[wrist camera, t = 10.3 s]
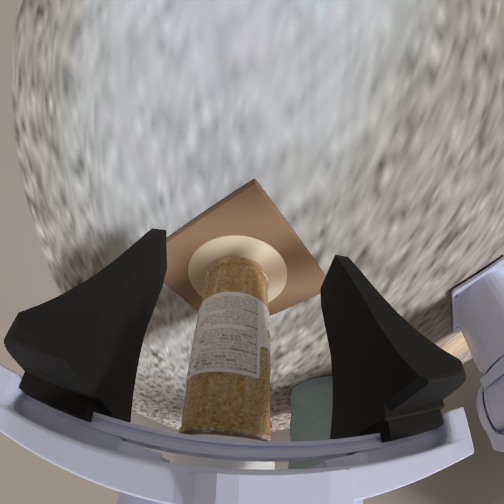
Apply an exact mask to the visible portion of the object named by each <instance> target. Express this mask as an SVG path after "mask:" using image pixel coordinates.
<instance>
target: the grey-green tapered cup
mask: <svg viewBox="0 0 504 504" xmlns="http://www.w3.org/2000/svg"><path fill="white" fill-rule="evenodd" d="M332 405H333V378H332V376H324V377H318V378H313V379H309V380H306V381H304V382H301V383H299V384H298V385H296V386H295V387H294V388H293V389H292V391H291V394H290V406H291V421H290V436H291V442H296V441H317V440H330V433H331V422H332ZM337 458H339V457H337ZM329 459H335V458H329ZM329 459H318V460H306V461H289V467H288V469H306V468H308V467H312V466H315V465H318V464H321V463H323V462H324V461H325V460H329Z"/></svg>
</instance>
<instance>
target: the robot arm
mask: <svg viewBox="0 0 504 504" xmlns="http://www.w3.org/2000/svg"><path fill="white" fill-rule="evenodd" d="M166 271H167V249H166V230H159V229H151V230H150V231H149V232H147V233H146V234H145V235H144V236H143V237H142V238H140V239H139V240H138V241H137V242H136V243H135V244H133V245H132V246H131V247H130V248H129V249H128V250H126V251H125V252H124V253H123V254H122V255H121V256H119V257H118V258H117V259H116V260H114V261H113V262H112V263H110V264H109V265H108V266H107V267H105V268H104V269H103V270H101V271H100V272H98V273H97V274H95V275H94V276H92V277H91V278H89V279H88V280H86V281H85V282H83V283H81V284H80V285H78V286H76V287H74V288H73V289H71V290H69V291H67V292H66V293H64V294H62V295H60V296H58V297H56V298H54V299H52V300H50V301H47V302H45V303H43V304H40V305H38V306H36V307H33V308H30V309H27V310H25V311H22V312H19V313H18V315H17V316H16V318H15V320H14V322H13V324H12V326H11V327H10V329H9V331H8V333H7V335H6V337H5V339H4V344H5V347H6V349H7V351H8V352H9V353H10V355H11V356H12V357H13V358H14V359H15V360H16V362H17V363H18V364H19V365H20V366H21V367H22V368H23V369H24V371H25V373H24V375H23V377H21V376H20V375H19V374H17V373H15V372H14V371H12V370H10V369H9V368H6V367H5V366H3V365H1V364H0V432H2V433H3V434H5V435H6V436H8V437H9V438H11V439H12V440H14V441H15V442H17V443H18V444H20V445H21V446H23V447H25V448H26V449H28V450H29V451H31V452H33V453H35V454H36V455H38V456H40V457H41V458H44V459H45V460H47V461H49V462H51V463H53V464H55V465H56V466H58V467H60V468H62V469H65V470H67V471H69V472H71V473H73V474H75V475H77V476H80V477H82V478H84V479H87V480H89V481H92V482H94V483H97V484H99V485H102V486H105V487H107V488H111V489H113V490H116V491H119V493H118V502H117V504H363V499H365V498H369V497H372V496H376V495H379V494H382V493H385V492H388V491H391V490H394V489H397V488H400V487H402V486H405V485H408V484H410V483H413V482H415V481H418V480H420V479H422V478H425V477H427V476H429V475H431V474H434V473H436V472H438V471H440V470H442V469H444V468H446V467H448V466H450V465H452V464H454V463H456V462H458V461H460V460H462V459H464V458H466V457H467V456H469V455H471V454H473V453H474V449H473V444H472V439H471V435H470V431H469V427H468V423H467V419H466V415H465V412H464V409H463V407H461V408H457V409H454V410H451V411H448V412H446V413H444V414H441V410H440V409H442V408H443V407H444V403H443V399H444V398H446V397H447V396H448V395H450V394H451V393H452V392H454V391H455V390H456V389H458V388H459V387H460V386H461V385H462V384H463V383H464V381H465V379H466V374H465V371H464V368H463V365H462V363H461V361H460V360H459V359H458V358H456V357H454V356H453V355H451V354H449V353H447V352H446V351H444V350H443V349H441V348H440V347H438V346H437V345H435V344H434V343H432V342H431V341H430V340H428V339H427V338H426V337H424V336H423V335H422V334H421V333H420V332H418V331H417V330H416V329H415V328H413V327H412V326H411V325H410V324H409V323H408V322H407V321H406V320H405V319H404V318H402V317H401V316H400V315H399V314H398V313H397V312H396V311H395V310H394V309H393V308H392V307H391V306H390V304H389V303H388V302H387V301H386V300H385V299H384V298H383V297H382V296H381V295H380V293H379V292H378V291H377V290H376V289H375V288H374V287H373V285H372V284H371V283H370V282H369V281H368V279H367V278H366V277H365V276H364V275H363V273H362V272H361V271H360V270H359V269H358V268H357V266H356V265H355V264H354V263H353V262H352V261H351V260H350V259H349V258H348V257H344V256H338V255H335V257H334V259H333V261H332V264H331V266H330V268H329V270H328V273H327V275H326V277H325V279H324V281H323V284H322V286H321V288H320V292H321V306H322V312H323V317H324V322H325V327H326V332H327V337H328V342H329V347H330V353H331V361H332V378H333V405H332V422H331V433H330V440H317V441H296V442H262V441H241V440H228V439H217V438H208V437H201V436H193V435H187V434H181V433H175V432H169V431H164V430H159V429H154V428H150V427H146V426H142V425H137V424H133V423H130V421H131V409H132V399H133V391H134V384H135V378H136V372H137V367H138V361H139V356H140V352H141V347H142V343H143V339H144V335H145V332H146V329H147V326H148V323H149V321H150V318H151V315H152V313H153V310H154V308H155V305H156V302H157V300H158V297H159V294H160V292H161V289H162V286H163V282H164V278H165V274H166ZM451 298H452V315H453V332H454V333H457V332H459V331H461V332H462V334H463V336H464V338H465V340H466V343H467V345H468V347H469V349H470V352H471V354H472V356H473V359H474V361H475V364H476V366H477V368H478V369H479V370H480V371H481V372H482V373H484V377H482V378H481V379H480V381H481V384H482V386H481V387H480V389H479V392H478V397H477V411H478V415H479V419H480V421H481V424H482V426H483V427H484V429H485V430H486V431H487V433H488V436H489V438H490V441H491V445H492V446H493V449H494V450H496V451H501V452H504V256H503V257H502V258H500V259H499V260H497V261H496V262H494V263H493V264H492V265H490V266H489V267H487V268H486V269H484V270H483V271H481V272H480V273H478V274H477V275H475V276H474V277H472V278H470V279H469V280H467V281H466V282H464V283H462V284H461V285H459V286H457V287H456V288H454V289H453V290H452V292H451ZM138 445H139V446H138ZM141 446H143V447H141ZM144 447H147V448H151V449H157V450H161V451H166V452H171V453H176V454H182V455H189V456H196V457H203V458H212V459H222V460H235V461H258V462H280V461H281V462H283V461H306V460H318V459H329V458H335V459H329V460H325V461H324V462H323V463H321V464H318V465H315V466H312V467H308V468H306V469H280V470H257V469H228V468H213V467H202V466H192V465H183V464H176V463H170V461H169V460H167V459H165V458H162V454H161V453H160V452H157V451H153V450H150V449H146V448H144ZM337 457H339V458H337Z"/></svg>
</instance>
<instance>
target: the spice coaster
mask: <svg viewBox="0 0 504 504" xmlns="http://www.w3.org/2000/svg"><path fill="white" fill-rule="evenodd" d="M166 249H167V271H166V274H165V278H164V283H166V284H167V285H168V286H169V287H170V288H171V289H173V290H174V291H175V292H176V293H177V294H178V295H180V296H181V297H182V298H183V299H184V300H186V301H187V302H188V303H189V304H190V305H192V306H193V307H194V308H195V309H197V310H198V311H199V309H200V306H201V304H202V301H203V296H204V289H205V275H206V272H207V270H208V268H209V267H210V266H211V265H212V264H213V263H214V262H216V261H217V260H219V259H221V258H225V257H230V256H237V257H245V258H249V259H251V260H253V261H255V262H257V263H258V264H260V265H261V266H262V267H263V268H264V269H265V271H266V273H267V274H268V278H269V288H268V311H269V315H273V314H275V313H277V312H280V311H282V310H284V309H287V308H289V307H291V306H293V305H296V304H298V303H300V302H302V301H305V300H307V299H309V298H311V297H313V296H316V295H318V294H320V293H321V292H320V288H321V286H322V284H323V281H324V279H325V277H326V275H325V274H324V273H323V271H322V270H321V268H320V267H319V265H318V264H317V262H316V261H315V260H314V258H313V257H312V255H311V254H310V253H309V251H308V250H307V248H306V247H305V245H304V244H303V243H302V241H301V240H300V239H299V237H298V236H297V234H296V233H295V232H294V230H293V229H292V227H291V226H290V225H289V223H288V222H287V221H286V219H285V218H284V217H283V215H282V214H281V212H280V211H279V210H278V208H277V207H276V206H275V204H274V203H273V202H272V200H271V199H270V198H269V196H268V195H267V194H266V192H265V191H264V190H263V189H262V187H261V186H260V185H259V183H258V182H257V181H256V179H254V180H252V181H250V182H249V183H247V184H246V185H244V186H243V187H241V188H239V189H238V190H236V191H235V192H233V193H232V194H230V195H229V196H227V197H226V198H224V199H223V200H221V201H220V202H218V203H217V204H215V205H214V206H212V207H211V208H209V209H208V210H206V211H205V212H203V213H202V214H200V215H199V216H197V217H196V218H195V219H193V220H192V221H190V222H189V223H187V224H186V225H184V226H183V227H182V228H180V229H179V230H177V231H176V232H175V233H173V234H172V235H170V236H169V237H168V238H166Z"/></svg>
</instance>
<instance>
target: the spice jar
mask: <svg viewBox="0 0 504 504" xmlns="http://www.w3.org/2000/svg"><path fill="white" fill-rule="evenodd" d="M268 288H269V278H268V274H267V273H266V271H265V269H264V268H263V267H262V266H261V265H260V264H258V263H257V262H255V261H253V260H251V259H249V258H245V257H237V256H230V257H225V258H221V259H219V260H217V261H216V262H214V263H213V264H212V265H211V266H210V267H209V268H208V270H207V272H206V275H205V289H204V296H203V301H202V304H201V306H200V309H199V314H198V319H197V324H196V330H195V335H194V340H193V346H192V351H191V357H190V363H189V369H188V375H187V382H186V383H187V389H186V397H185V404H184V411H183V417H182V426H181V428H180V430H179V433H181V434H187V435H193V436H201V437H208V438H217V439H228V440H241V441H262V442H271V441H272V438H271V436H270V431H271V428H270V370H271V367H270V352H271V350H270V315H269V311H268ZM173 463H176V464H183V465H192V466H202V467H213V468H228V469H257V470H275V462H258V461H235V460H222V459H212V458H203V457H196V456H189V455H182V454H176V453H174V456H173Z"/></svg>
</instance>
